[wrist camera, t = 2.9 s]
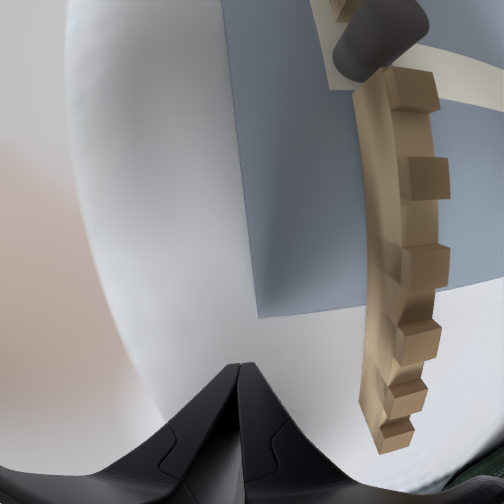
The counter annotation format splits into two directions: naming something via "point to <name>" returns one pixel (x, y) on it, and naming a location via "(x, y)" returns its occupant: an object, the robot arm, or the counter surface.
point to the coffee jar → (483, 469)
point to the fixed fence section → (375, 34)
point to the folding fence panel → (400, 246)
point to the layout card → (357, 147)
